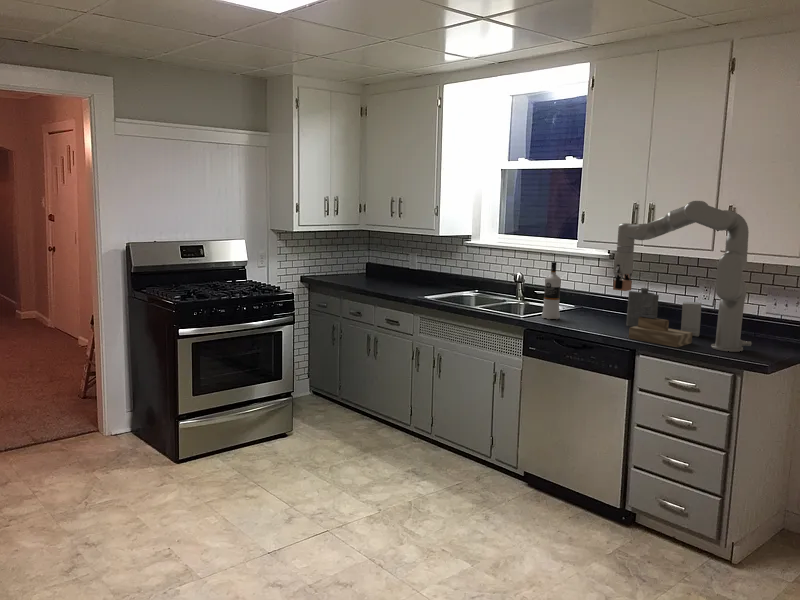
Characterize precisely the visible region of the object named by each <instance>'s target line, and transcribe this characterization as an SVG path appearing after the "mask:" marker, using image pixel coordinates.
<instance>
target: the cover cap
mask: <svg viewBox="0 0 800 600" xmlns="http://www.w3.org/2000/svg"><path fill="white" fill-rule="evenodd" d="M615 284H616V280H615V279H614V280H613V286H612V288H613V289H612V290H613V291H621V292H629V291H632V287H633V286H632V285H633V280H631V279H629V280H623V279H622V289H617V288H615Z"/></svg>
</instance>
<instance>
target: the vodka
mask: <svg viewBox="0 0 800 600" xmlns="http://www.w3.org/2000/svg"><path fill="white" fill-rule="evenodd" d="M557 263H558V262H557V261H551V266H550V274H549V275H548V276H546V277H545V278H544V293H543V294H544V295H543V307H542V312H541V317H542V318H543V319H544V318H547V319H546V320H550V319H556V320H559V319H560V318H561V317H560V316H561V315H560V301H561V300H560V298H561V286H562V285H561V283H562V279H561V277H560V276H558V275H557Z"/></svg>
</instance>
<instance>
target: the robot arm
mask: <svg viewBox="0 0 800 600" xmlns="http://www.w3.org/2000/svg"><path fill="white" fill-rule="evenodd" d="M695 223H696V224H699V225H701V226H705V227H706V228H710V229H711V230H715V231H718V232H719V231H721V232H723V231H726V238H725V249H724V253H723V254H722V255H721V256H720V257H719V259H718V262H717V266H716V278H715V292H716V295H717V297H719V299H720V300H719V305H718V314H717V323H716V331H715V332H716V333H715V334H716V335H715V343H711V345H710V348H711V349H714V350H717V351H721V352H728V351H729V353H730V352H731V353H739V352H740V351H741V352H743V351H744V346H746V347H751V346H752V344H753V343H752V341H746V340H742V339H741V335H742V325H743V314H744V309H745V302H746V297H747V296H746V295H747V284H746V281H744V279H742V274H743V272H744V270H746V267H747V265H748V249H749V247H748V246H749V233H750V232H749V226H748V223H747V221H746V219H745V218H744V217H743V216H742V215H741V214H739V213H737V212H735V211H732V210H729V209H727V210H724V209H719V208H717V207H714V206H710V205H709V204H708V203H707V202H705V201H703V200H692V201H689V202H688V203H686V205H684V206H681V207H679V208H676V209H674V210H670V211H669V212H667V213H666V214H665V215H664V216H663V217H660V218H658V219H655V220H653V221H651V222H650V221H649V222H647V223H637V224H636V223H635V224H634V223H630V222H629V223H628V222H627V223H626V222H625V223H620V224H619V225H618V230H617V231H618V232H617V242H616V253H615V256H614V257H615V258H614V263H613V270H612V271H613V275H614V277H615V278H614V280H616V284H615V288H617V289H622V280H631V278H632V274H633V273H634V251H635V240H637V241H648V240H649V241H650V240H652V239H655V238H658V237H660V236H663V235H665V234H669V233H670V232H674V231H677V230H679V229H682V228H684V227H687V226H689V225H691V224H692V225H693V224H695Z"/></svg>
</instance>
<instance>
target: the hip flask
mask: <svg viewBox="0 0 800 600" xmlns="http://www.w3.org/2000/svg"><path fill="white" fill-rule="evenodd" d="M640 290H641V291H633V290H629V291H628V297H627V310H626V325H625V326H626V327H634V326H638V321H639V317H641V316H634V315H633V314H634V313H635V312H639V313H643V311H640V307H641V306H651V310H650V311H648V314H652V315H657V316H658V309H659V297H660V296H659V294H655V293H653V292H649V288H647V287H641V288H640Z"/></svg>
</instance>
